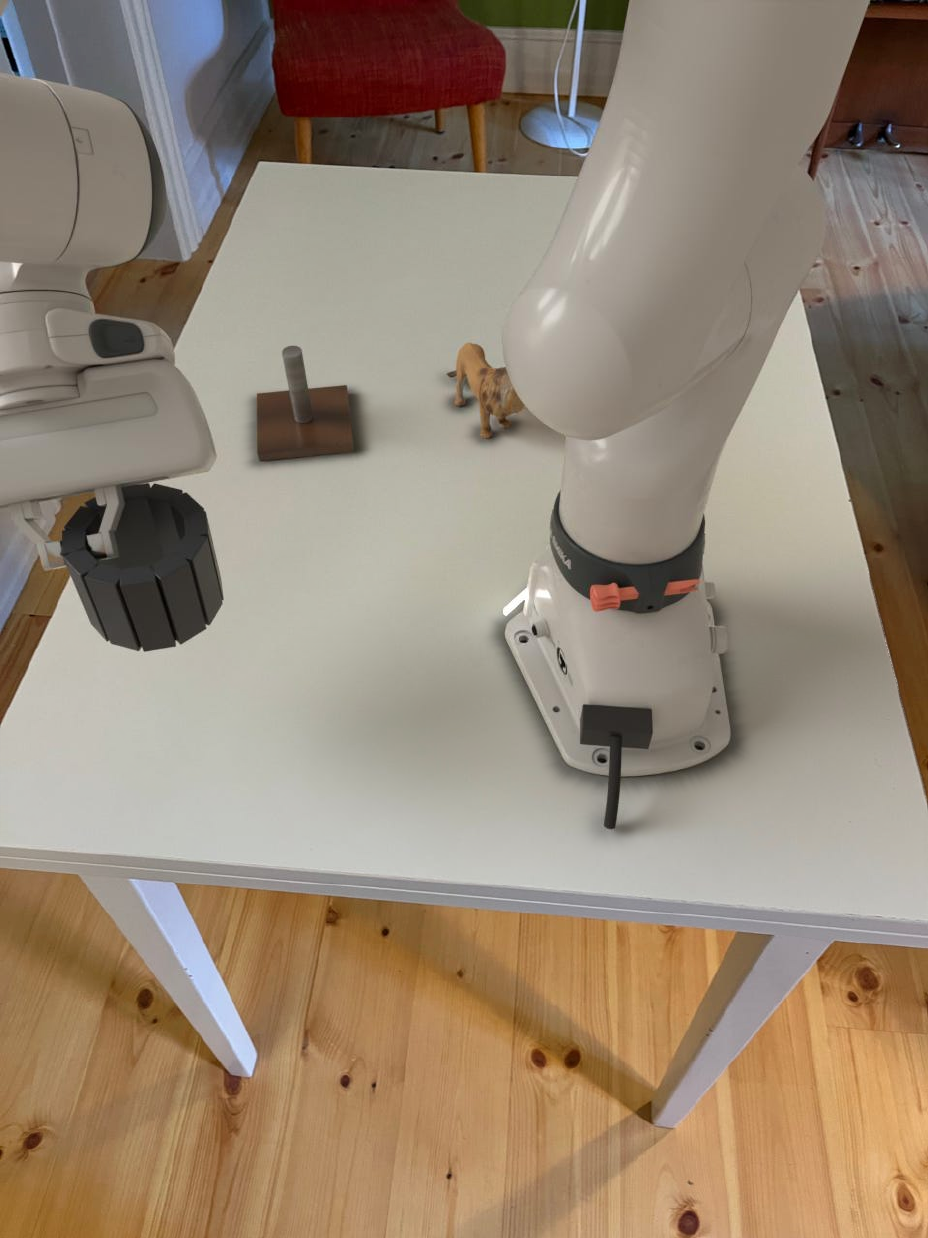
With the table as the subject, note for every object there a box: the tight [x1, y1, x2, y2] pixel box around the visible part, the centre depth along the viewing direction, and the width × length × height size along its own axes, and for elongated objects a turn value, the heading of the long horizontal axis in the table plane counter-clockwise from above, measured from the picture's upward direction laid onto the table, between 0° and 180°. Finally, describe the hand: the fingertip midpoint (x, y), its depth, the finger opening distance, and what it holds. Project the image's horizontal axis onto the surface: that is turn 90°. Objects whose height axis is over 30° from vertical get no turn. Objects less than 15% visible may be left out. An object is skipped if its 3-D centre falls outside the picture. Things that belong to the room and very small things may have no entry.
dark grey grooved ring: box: [61, 482, 225, 653], centre depth 65 cm, size 9×9×7 cm
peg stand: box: [256, 345, 355, 462], centre depth 97 cm, size 10×10×10 cm
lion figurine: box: [446, 342, 526, 439], centre depth 99 cm, size 15×5×9 cm, turn 34°
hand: (82, 564), depth 62 cm, fingers closed on dark grey grooved ring
